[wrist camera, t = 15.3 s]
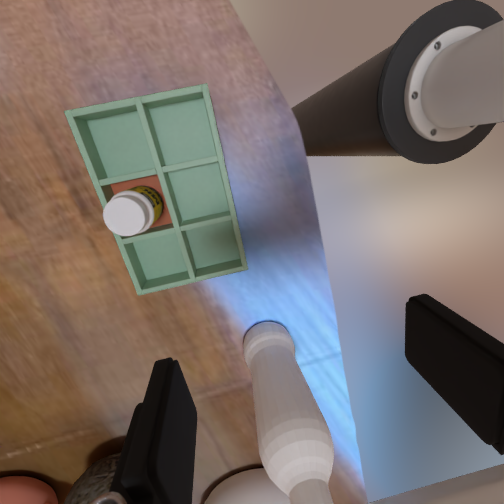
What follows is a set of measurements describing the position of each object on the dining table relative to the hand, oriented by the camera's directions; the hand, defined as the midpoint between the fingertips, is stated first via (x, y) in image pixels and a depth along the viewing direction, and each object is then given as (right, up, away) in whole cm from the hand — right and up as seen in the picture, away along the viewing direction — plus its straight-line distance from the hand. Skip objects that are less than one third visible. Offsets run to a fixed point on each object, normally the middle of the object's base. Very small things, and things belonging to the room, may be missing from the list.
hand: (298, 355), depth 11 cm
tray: (-12, +11, +25) cm, 30 cm away
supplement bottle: (-16, +10, +24) cm, 30 cm away
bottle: (+1, -11, +34) cm, 36 cm away
